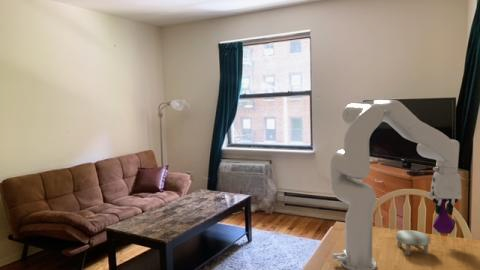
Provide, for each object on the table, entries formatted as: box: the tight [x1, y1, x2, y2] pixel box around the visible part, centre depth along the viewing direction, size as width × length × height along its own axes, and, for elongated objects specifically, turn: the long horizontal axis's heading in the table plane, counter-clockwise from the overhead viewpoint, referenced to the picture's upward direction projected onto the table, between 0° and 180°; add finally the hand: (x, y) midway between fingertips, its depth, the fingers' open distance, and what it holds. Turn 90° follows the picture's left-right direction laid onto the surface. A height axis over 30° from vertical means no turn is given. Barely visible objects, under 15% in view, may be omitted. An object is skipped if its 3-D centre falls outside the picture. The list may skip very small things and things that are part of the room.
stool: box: [395, 229, 431, 257], centre depth 138 cm, size 12×12×6 cm
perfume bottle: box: [432, 199, 457, 235], centre depth 140 cm, size 8×8×18 cm
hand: (443, 213), depth 140 cm, fingers closed on perfume bottle, 3 cm apart
